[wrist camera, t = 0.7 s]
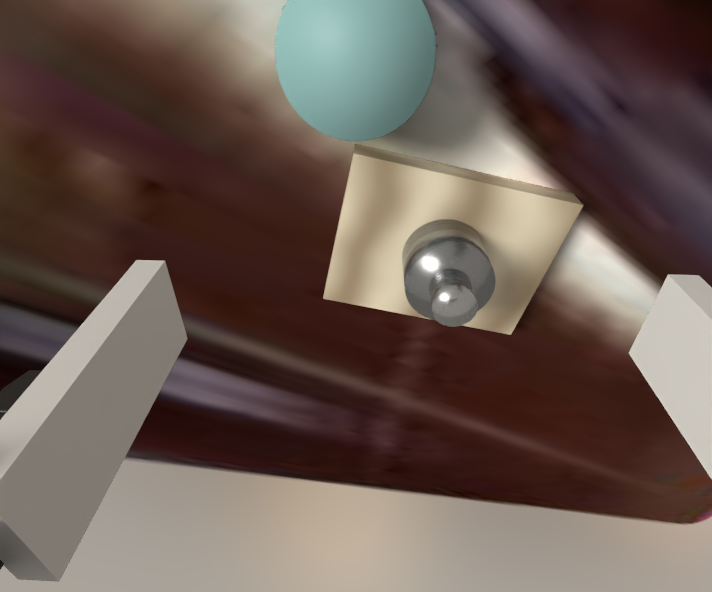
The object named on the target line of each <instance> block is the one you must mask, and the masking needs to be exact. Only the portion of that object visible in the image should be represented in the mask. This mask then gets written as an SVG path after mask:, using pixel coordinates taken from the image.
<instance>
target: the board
mask: <svg viewBox="0 0 712 592" xmlns="http://www.w3.org/2000/svg"><path fill="white" fill-rule="evenodd" d="M582 207H583V204H582V203H581V202H580V201H579V200H578V199H577V197H576V196H575V195H574V194H573V193H569V192H564V191H560V190H555V189H551V188H547V187H542V186H538V185H533V184H529V183H525V182H520V181H516V180H511V179H507V178H503V177H498V176H494V175H489V174H485V173H481V172H476V171H472V170H467V169H463V168H459V167H454V166H450V165H445V164H441V163H437V162H432V161H428V160H423V159H419V158H415V157H410V156H406V155H401V154H397V153H393V152H388V151H384V150H379V149H375V148H371V147H366V146H362V145H357V144H355V147H354V151H353V156H352V161H351V166H350V170H349V175H348V180H347V185H346V190H345V194H344V199H343V204H342V209H341V213H340V218H339V223H338V228H337V232H336V237H335V242H334V247H333V251H332V256H331V261H330V266H329V271H328V275H327V280H326V285H325V291H324V297H323V299H328V300H333V301H338V302H343V303H349V304H354V305H359V306H364V307H369V308H374V309H380V310H385V311H390V312H395V313H400V314H406V315H411V316H416V317H421V318H426V317H424V316H422V315H421V314H419V313H418V312H416V311H415V310H414V309H413V308H412V307H411V305H410V304H409V302H408V300H407V298H406V294H405V286H404V275H403V264H402V252H403V248H404V245H405V243H406V241H407V239H408V238H409V237H410V235H411V234H412V233H413V232H414V231H415V230H417V229H418V228H419V227H421V226H422V225H424V224H426V223H429V222H432V221H435V220H440V219H453V220H458V221H461V222H464V223H466V224H468V225H469V226H471V227H472V228H473V229H475V231H476V232H477V233H478V234H479V236H480V237H481V240H482V242H483V245H484V247H485V250H486V252H487V255H488V257H489V260H490V262H491V265H492V267H493V270H494V273H495V279H496V282H495V289H494V292H493V294H492V296H491V298H490V300H489V301H488V302H487V304H486V305H485V306H484V307H483V308H481V309H480V310H479V311H477V313H476V315H475V317H474V318H473V319H472V320H471V321H469V322H468V323H466V324H464V325H463V326H468V327H473V328H478V329H483V330H489V331H494V332H499V333H504V334H509V335H511V334H512V332H513V330H514V328H515V327H516V325H517V323H518V321H519V319H520V318H521V316H522V314H523V312H524V311H525V309H526V307H527V305H528V303H529V302H530V300H531V298H532V296H533V294H534V293H535V291H536V289H537V287H538V286H539V284H540V282H541V280H542V278H543V277H544V275H545V273H546V271H547V270H548V268H549V266H550V264H551V262H552V261H553V259H554V257H555V255H556V253H557V252H558V250H559V248H560V246H561V245H562V243H563V241H564V239H565V237H566V236H567V234H568V232H569V230H570V228H571V227H572V225H573V223H574V221H575V220H576V218H577V216H578V214H579V212H580V211H581V209H582ZM426 319H429V318H426Z"/></svg>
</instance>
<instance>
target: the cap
mask: <svg viewBox="0 0 712 592" xmlns="http://www.w3.org/2000/svg"><path fill="white" fill-rule="evenodd" d="M434 35H436V31H435V29H434V27H433V25H432V22H431V19H430V16H429V14H428V11H427V9H426V7H425V5H424V3H423V1H422V0H288V1H287V3H286V5H285V6H283V10H282V14H281V17H280V20H279V24H278V27H277V33H276V39H275V60H276V67H277V72H278V77H279V80H280V83H281V86H282V88H283V91H284V93H285V95H286V97H287V99H288V100H289V102H290V104H291V105H292V107H293V108H294V109H295V111H296V112H297V113H298V114H299V115H300V116H301V117H302V118H303V120H304V121H305V122H307V123H308V124H309V125H311V126H312V127H313V128H315V129H316V130H318V131H320V132H321V133H323V134H325V135H328V136H330V137H333V138H336V139H340V140H346V141H366V140H371V139H375V138H379V137H381V136H384V135H386V134H388V133H390V132H392V131H394V130H395V129H397V128H398V127H400V126H401V125H402V124H404V123H405V122H406V121H407V120H408V119H409V118H410V117H411V116H412V115H413V113H414V112H415V111H416V110H417V108H418V107H419V105H420V104H421V102H422V101H423V99H424V97H425V95H426V93H427V91H428V88H429V86H430V83H431V80H432V76H433V71H434V66H435V57H436V49H437V45H436V43H435V37H434Z"/></svg>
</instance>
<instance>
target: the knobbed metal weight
mask: <svg viewBox="0 0 712 592" xmlns="http://www.w3.org/2000/svg"><path fill="white" fill-rule="evenodd" d="M402 264H403V275H404V286H405V294H406V298H407V300H408V302H409V304H410V305H411V307H412V308H413V309H414V310H415V311H416V312H418V313H419V314H421V315H422V316H424V317H426V318H429V319H432V320H437V321H438V322H439V323H441V324H443V325H445V326H451V327H455V326H461V325H464V324H466V323H468V322H469V321H471V320H472V319H473V318H474V317H475V315H476V313H477V311H479V310H480V309H481V308H483V307H484V306H485V305H486V304H487V302H488V301H489V300H490V298H491V296H492V294H493V292H494V289H495V282H496V279H495V273H494V270H493V267H492V265H491V262H490V260H489V257H488V255H487V252H486V250H485V247H484V245H483V242H482V240H481V237H480V236H479V234H478V233H477V232H476V231H475V229H473V228H472V227H471V226H469V225H468V224H466V223H464V222H461V221H458V220H453V219H440V220H435V221H432V222H429V223H426V224H424V225H422V226H421V227H419V228H418V229H417V230H415V231H414V232H413V233H412V234H411V235H410V237H409V238H408V239H407V241H406V243H405V245H404V248H403V252H402Z"/></svg>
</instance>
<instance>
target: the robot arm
mask: <svg viewBox="0 0 712 592" xmlns="http://www.w3.org/2000/svg"><path fill="white" fill-rule="evenodd" d="M187 339H188V338H187V335H186V331H185V328H184V325H183V321H182V318H181V314H180V311H179V307H178V304H177V301H176V297H175V294H174V290H173V287H172V283H171V280H170V277H169V273H168V270H167V266H166V263H165V261H154V260H136V261H135V263H134V264H133V265H132V266H131V267H130V268H129V270H128V271H127V272H126V273H125V274H124V275H123V277H122V278H121V279H120V280H119V281H118V282H117V284H116V285H115V286H114V287H113V288H112V290H111V291H110V292H109V293H108V294H107V295H106V297H105V298H104V299H103V300H102V301H101V302H100V304H99V305H98V306H97V307H96V308H95V309H94V311H93V312H92V313H91V314H90V315H89V316H88V318H87V319H86V320H85V321H84V322H83V324H82V325H81V326H80V327H79V328H78V329H77V331H76V332H75V333H74V334H73V335H72V336H71V338H70V339H69V340H68V341H67V342H66V343H65V345H64V346H63V347H62V348H61V349H60V350H59V352H58V353H57V354H56V355H55V356H54V357H53V359H52V360H51V361H50V362H49V363H48V365H47V366H46V367H45V368H44V369H43V370H42V371H37V370H29V371H27V372H26V373H25V374H23V375H22V376H20V377H19V378H17V379H16V380H14V381H13V382H11V383H10V384H9V385H7V386H6V387H4V388H3V389H2V390H1V391H0V569H1V567H2V566H3V565H4V566H5V567H6V568H7V569H8V570H9V571H10V572H11V573H12V574H13V575H14V576H15V577H16V578H17V579H21V580H22V579H23V580H41V581H60V579H61V577H62V575H63V573H64V571H65V570H66V568H67V566H68V564H69V562H70V560H71V558H72V556H73V554H74V552H75V551H76V549H77V546H78V545H79V543H80V541H81V539H82V537H83V535H84V534H85V532H86V530H87V528H88V526H89V524H90V522H91V520H92V518H93V516H94V515H95V513H96V511H97V509H98V507H99V505H100V503H101V501H102V499H103V498H104V496H105V494H106V492H107V490H108V488H109V486H110V484H111V483H112V481H113V479H114V477H115V475H116V473H117V471H118V469H119V467H120V465H121V464H122V462H123V460H124V458H125V456H126V454H127V452H128V450H129V448H130V447H131V445H132V443H133V441H134V439H135V437H136V435H137V433H138V431H139V430H140V428H141V426H142V424H143V422H144V420H145V418H146V416H147V414H148V413H149V411H150V409H151V407H152V405H153V403H154V401H155V399H156V397H157V396H158V394H159V392H160V390H161V388H162V386H163V384H164V382H165V380H166V378H167V377H168V375H169V373H170V371H171V369H172V367H173V365H174V363H175V361H176V360H177V358H178V356H179V354H180V352H181V350H182V348H183V346H184V344H185V343H186V341H187ZM629 354H630V356H631V358H632V359H633V361H634V362H635V364H636V365H637V367H638V368H639V370H640V371H641V373H642V374H643V376H644V377H645V379H646V380H647V382H648V383H649V385H650V386H651V388H652V389H653V391H654V392H655V394H656V396H657V397H658V399H659V400H660V402H661V403H662V405H663V406H664V408H665V409H666V411H667V412H668V414H669V415H670V417H671V418H672V420H673V421H674V423H675V424H676V426H677V427H678V429H679V430H680V432H681V434H682V435H683V437H684V438H685V440H686V441H687V443H688V444H689V446H690V447H691V449H692V450H693V452H694V453H695V455H696V456H697V458H698V459H699V461H700V462H701V464H702V465H703V467H704V468H705V470H706V472H707V473H708V475H709V476H710V478H711V479H712V287H710V286H709V285H708V284H707V283H706V282H705V281H704V280H703V279H702V278H701V277H700V276H699V275H668V276H667V278H666V280H665V282H664V284H663V286H662V288H661V290H660V292H659V294H658V296H657V298H656V300H655V302H654V304H653V306H652V308H651V310H650V312H649V314H648V316H647V317H646V319H645V321H644V323H643V325H642V327H641V329H640V331H639V333H638V335H637V337H636V339H635V341H634V343H633V345H632V347H631V349H630V351H629Z"/></svg>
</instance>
